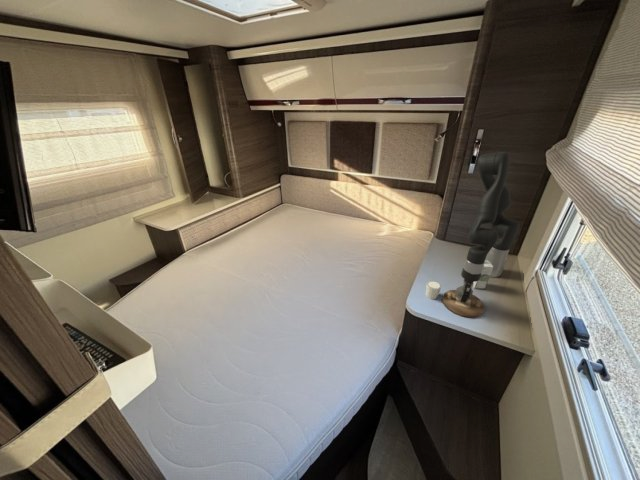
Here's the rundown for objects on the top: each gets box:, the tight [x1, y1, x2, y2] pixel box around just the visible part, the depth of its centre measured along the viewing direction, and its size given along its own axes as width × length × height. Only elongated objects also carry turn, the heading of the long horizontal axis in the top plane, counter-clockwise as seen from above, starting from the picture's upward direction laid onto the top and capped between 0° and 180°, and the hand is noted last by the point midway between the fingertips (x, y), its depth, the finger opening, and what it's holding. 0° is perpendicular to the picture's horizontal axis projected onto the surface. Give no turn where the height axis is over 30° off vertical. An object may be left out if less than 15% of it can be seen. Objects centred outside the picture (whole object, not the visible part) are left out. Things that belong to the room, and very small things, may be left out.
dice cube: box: [455, 285, 474, 301], centre depth 126 cm, size 5×5×5 cm
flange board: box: [441, 289, 485, 319], centre depth 127 cm, size 18×18×4 cm
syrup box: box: [472, 261, 493, 290], centre depth 137 cm, size 6×6×14 cm
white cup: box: [425, 280, 442, 300], centre depth 133 cm, size 7×7×7 cm
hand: (463, 297), depth 126 cm, fingers closed on dice cube, 6 cm apart
